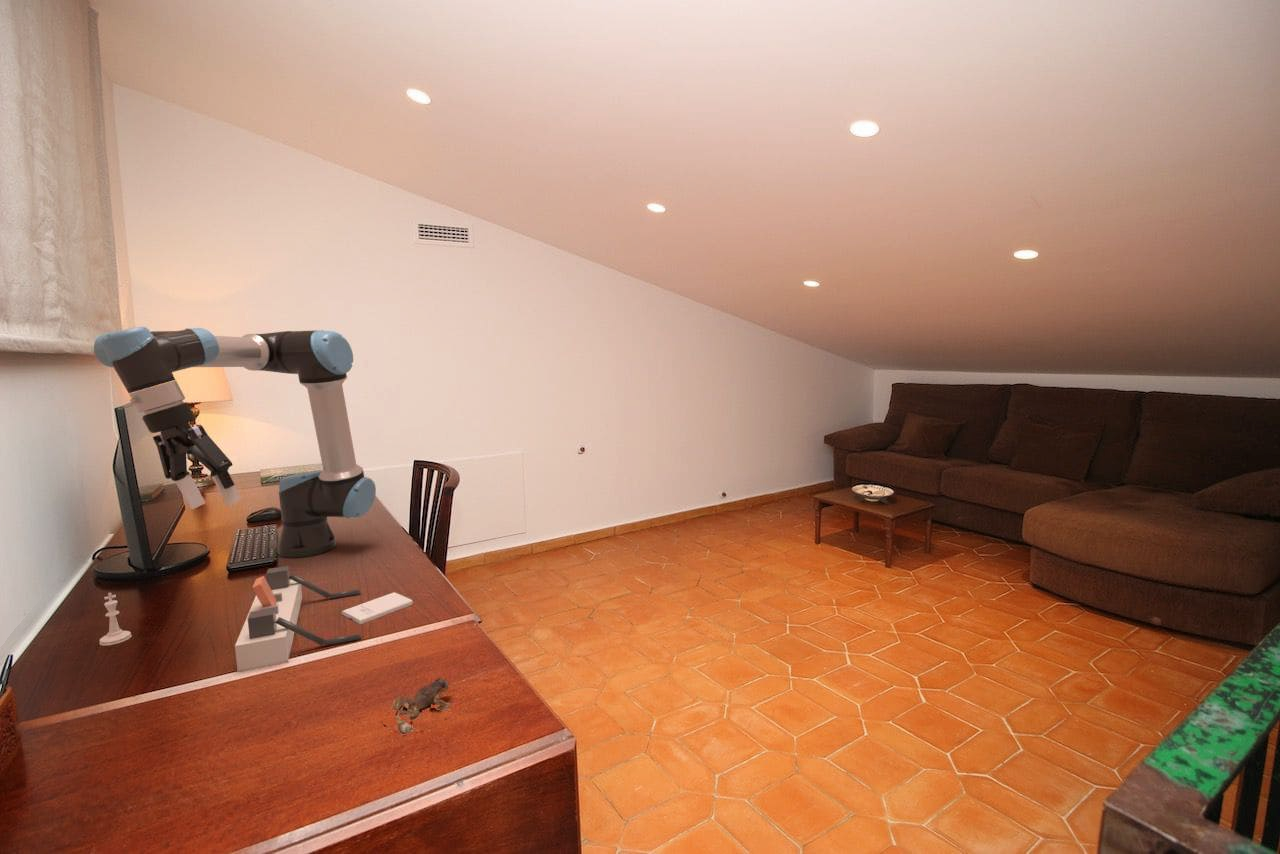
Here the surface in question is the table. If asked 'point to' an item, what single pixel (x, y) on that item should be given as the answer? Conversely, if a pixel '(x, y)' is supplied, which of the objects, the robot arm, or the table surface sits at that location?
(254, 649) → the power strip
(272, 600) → the block
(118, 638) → the chess piece
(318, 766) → the table surface
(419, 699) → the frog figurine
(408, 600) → the external hard drive
